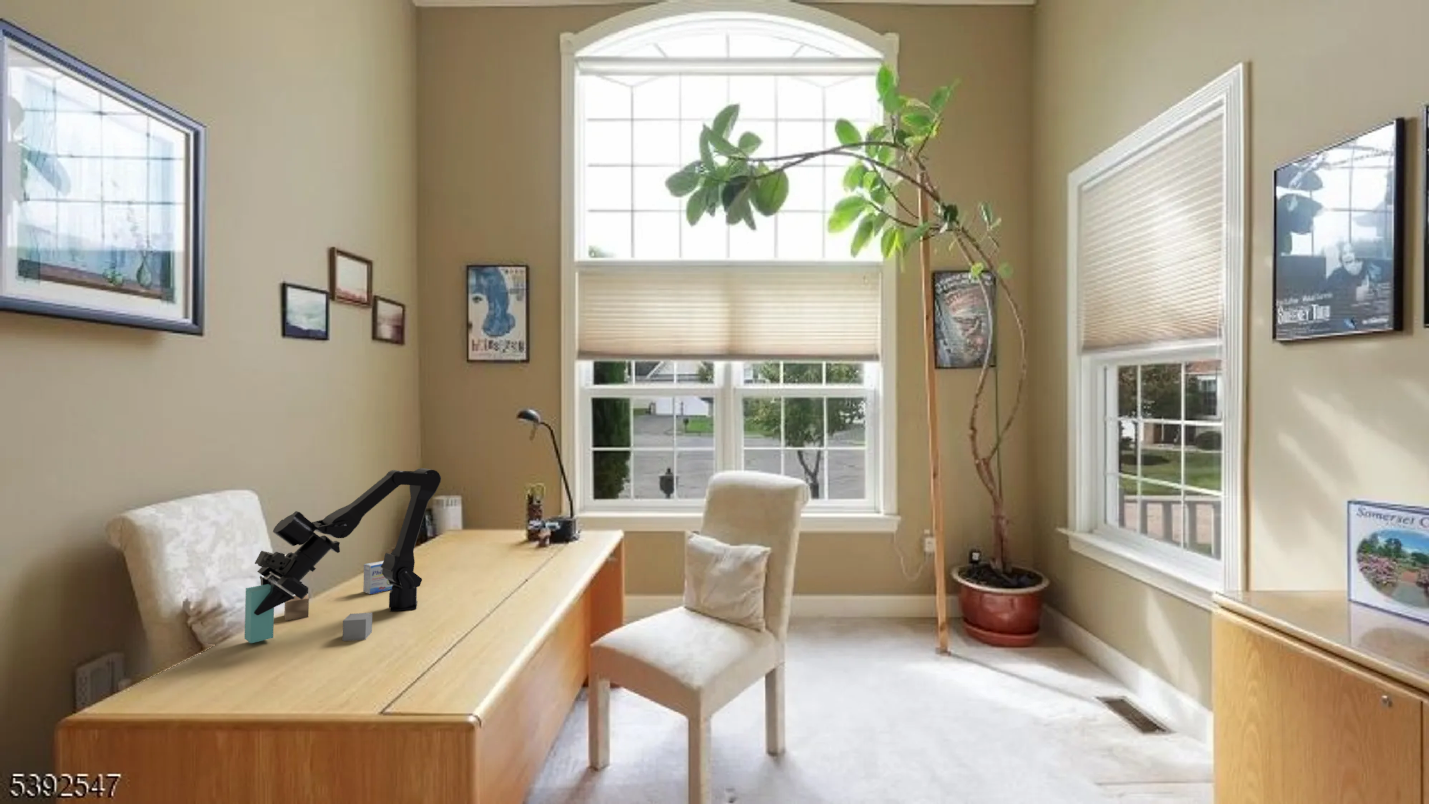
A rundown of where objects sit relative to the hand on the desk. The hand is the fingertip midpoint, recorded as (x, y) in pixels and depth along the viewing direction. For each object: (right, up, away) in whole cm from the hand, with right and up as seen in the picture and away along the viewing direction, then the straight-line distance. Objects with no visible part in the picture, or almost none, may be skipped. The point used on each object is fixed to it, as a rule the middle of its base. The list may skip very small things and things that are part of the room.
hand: (252, 612), depth 144 cm
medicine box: (+7, -8, +43) cm, 44 cm away
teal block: (+1, -7, +1) cm, 7 cm away
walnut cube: (-3, -8, +19) cm, 21 cm away
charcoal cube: (+22, -8, +6) cm, 24 cm away
